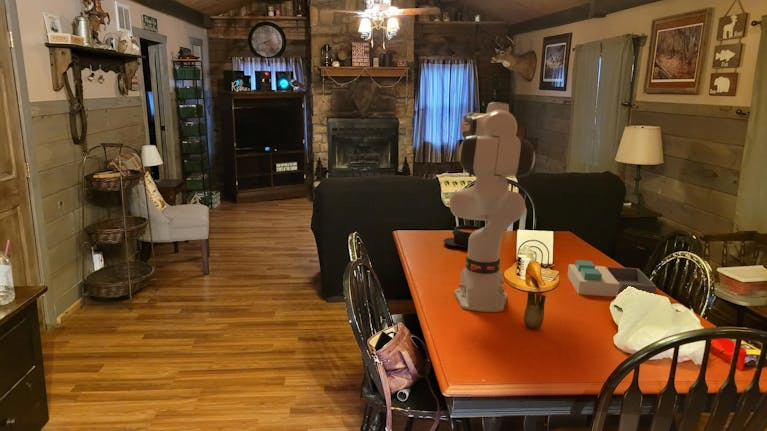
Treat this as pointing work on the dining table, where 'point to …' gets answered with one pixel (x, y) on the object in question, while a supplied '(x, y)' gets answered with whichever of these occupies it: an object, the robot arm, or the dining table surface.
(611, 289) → the plate
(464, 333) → the dining table surface
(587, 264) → the tile
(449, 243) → the black brimmed hat
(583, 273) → the tile
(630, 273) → the bin
